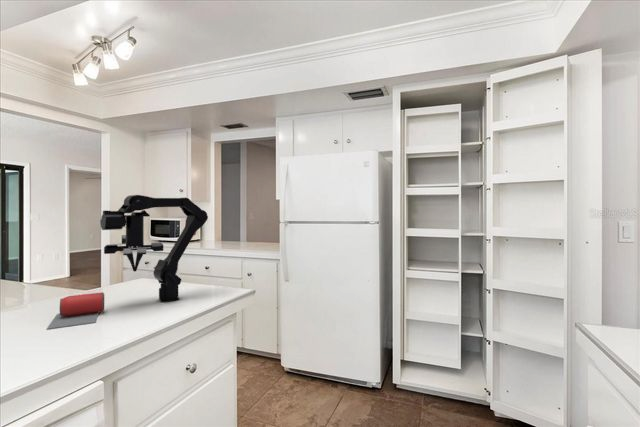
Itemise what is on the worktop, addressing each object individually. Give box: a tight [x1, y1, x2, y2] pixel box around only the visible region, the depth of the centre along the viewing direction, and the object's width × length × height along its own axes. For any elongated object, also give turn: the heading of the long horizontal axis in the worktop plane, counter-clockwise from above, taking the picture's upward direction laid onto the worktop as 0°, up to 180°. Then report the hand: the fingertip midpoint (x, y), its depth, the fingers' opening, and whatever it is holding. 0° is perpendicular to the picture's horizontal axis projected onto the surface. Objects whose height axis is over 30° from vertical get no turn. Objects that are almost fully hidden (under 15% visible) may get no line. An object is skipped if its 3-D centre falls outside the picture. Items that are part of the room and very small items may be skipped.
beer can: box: [59, 291, 105, 316], centre depth 111 cm, size 7×7×12 cm
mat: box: [46, 312, 100, 331], centre depth 107 cm, size 12×16×1 cm
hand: (134, 271), depth 120 cm, fingers closed
